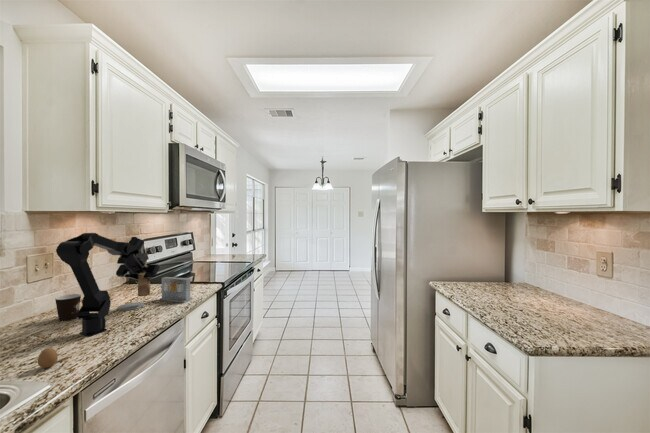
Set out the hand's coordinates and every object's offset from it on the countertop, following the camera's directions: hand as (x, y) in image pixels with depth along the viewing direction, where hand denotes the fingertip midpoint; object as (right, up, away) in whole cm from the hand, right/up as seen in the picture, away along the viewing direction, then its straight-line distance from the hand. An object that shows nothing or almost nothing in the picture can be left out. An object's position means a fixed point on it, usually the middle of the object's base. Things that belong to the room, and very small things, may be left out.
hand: (145, 279), depth 147 cm
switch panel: (+11, -13, +9) cm, 19 cm away
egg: (+7, -14, -59) cm, 61 cm away
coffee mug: (-22, -14, -17) cm, 31 cm away
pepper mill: (0, -8, -1) cm, 8 cm away
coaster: (-5, -13, -3) cm, 15 cm away
